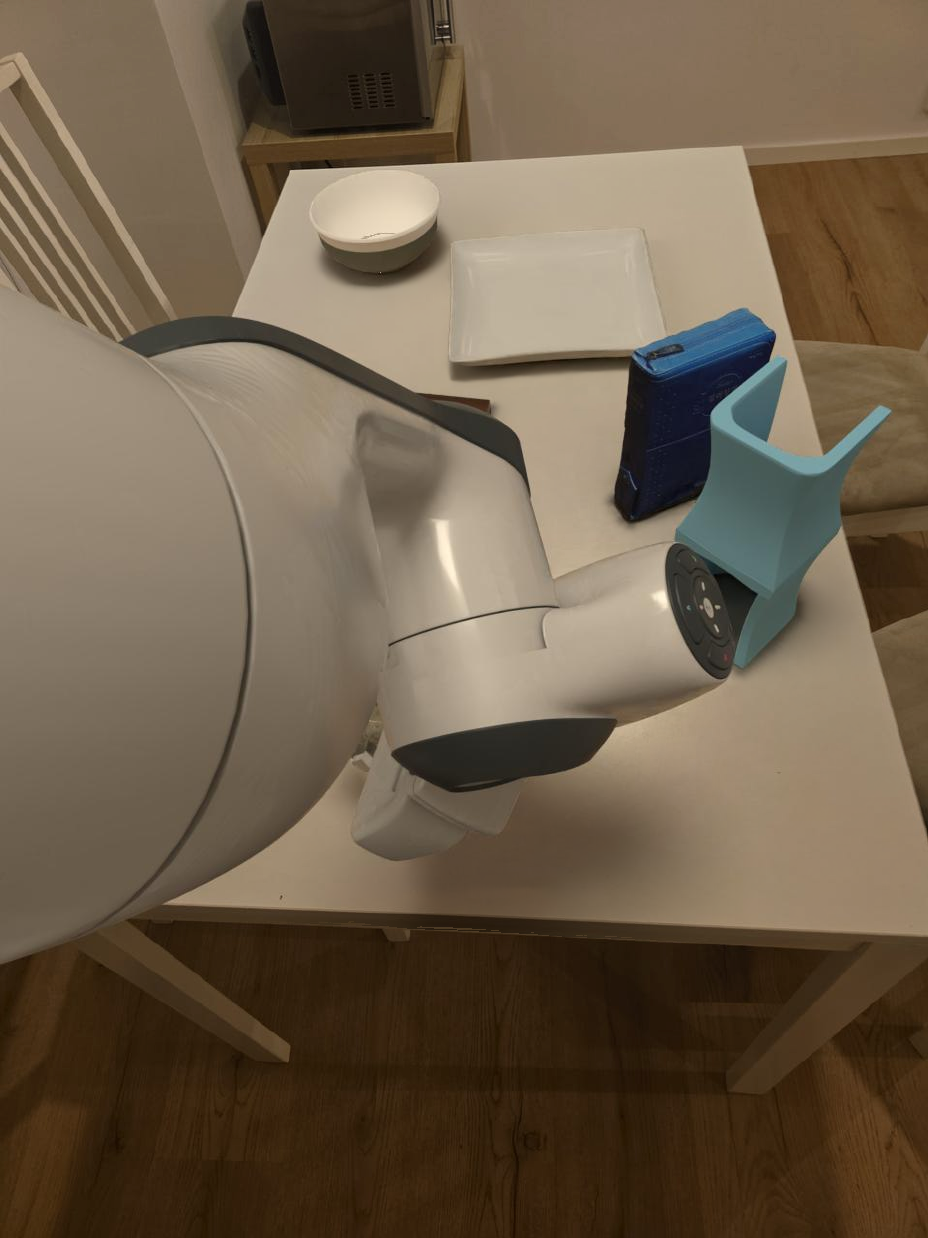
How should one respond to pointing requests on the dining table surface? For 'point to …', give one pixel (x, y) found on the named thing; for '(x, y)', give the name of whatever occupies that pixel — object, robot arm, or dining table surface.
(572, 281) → the square plate
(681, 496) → the book
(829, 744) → the dining table surface
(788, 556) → the light blue toy chair
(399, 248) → the bowl
